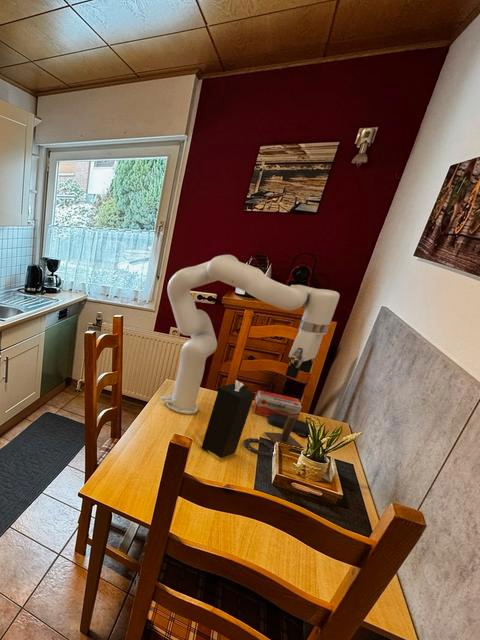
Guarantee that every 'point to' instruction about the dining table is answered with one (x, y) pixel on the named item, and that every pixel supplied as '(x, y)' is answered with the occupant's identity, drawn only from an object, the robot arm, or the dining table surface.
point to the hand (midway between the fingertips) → (297, 374)
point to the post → (285, 434)
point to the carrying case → (280, 421)
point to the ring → (266, 454)
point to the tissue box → (227, 419)
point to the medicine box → (276, 404)
